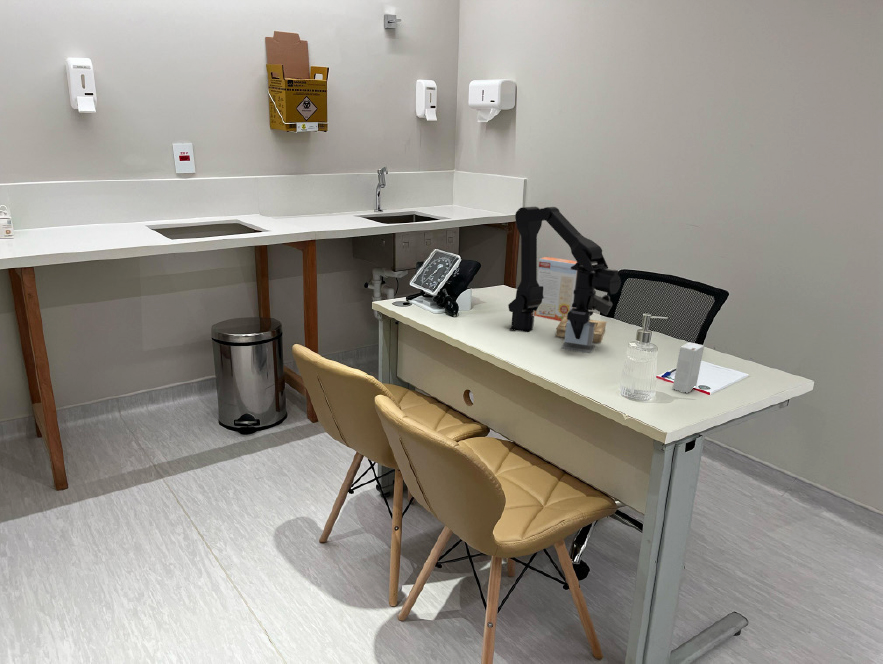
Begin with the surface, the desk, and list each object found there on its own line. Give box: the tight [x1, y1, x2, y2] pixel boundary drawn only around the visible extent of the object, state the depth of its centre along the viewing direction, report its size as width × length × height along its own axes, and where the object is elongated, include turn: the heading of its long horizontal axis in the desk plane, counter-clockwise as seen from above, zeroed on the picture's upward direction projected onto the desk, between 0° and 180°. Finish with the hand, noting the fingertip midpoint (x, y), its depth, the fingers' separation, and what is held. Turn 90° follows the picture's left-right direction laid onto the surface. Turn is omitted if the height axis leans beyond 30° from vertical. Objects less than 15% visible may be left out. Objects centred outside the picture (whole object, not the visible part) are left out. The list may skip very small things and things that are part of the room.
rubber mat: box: [560, 342, 595, 354], centre depth 211 cm, size 9×9×1 cm
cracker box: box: [533, 256, 577, 322], centre depth 239 cm, size 14×6×21 cm, turn 58°
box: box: [563, 320, 595, 346], centre depth 209 cm, size 8×4×6 cm, turn 71°
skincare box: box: [672, 342, 705, 394], centre depth 180 cm, size 6×4×12 cm
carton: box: [555, 316, 607, 344], centre depth 223 cm, size 14×16×4 cm
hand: (578, 336), depth 210 cm, fingers closed on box, 4 cm apart
